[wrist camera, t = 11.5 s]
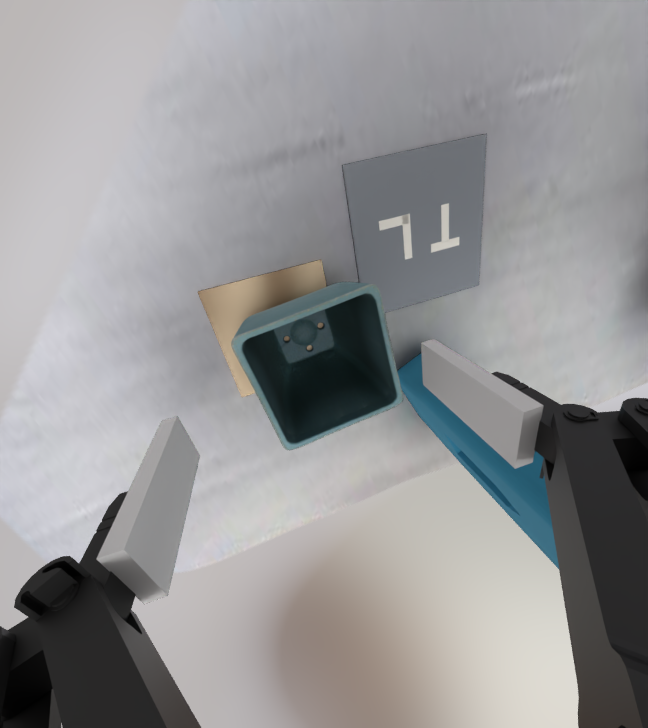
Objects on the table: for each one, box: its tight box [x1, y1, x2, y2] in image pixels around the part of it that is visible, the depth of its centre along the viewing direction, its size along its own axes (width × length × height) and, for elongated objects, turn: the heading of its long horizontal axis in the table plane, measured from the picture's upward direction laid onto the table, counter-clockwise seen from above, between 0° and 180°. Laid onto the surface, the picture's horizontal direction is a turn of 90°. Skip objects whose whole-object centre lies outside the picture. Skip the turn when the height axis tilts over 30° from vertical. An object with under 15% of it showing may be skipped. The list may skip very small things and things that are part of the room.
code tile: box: [342, 134, 487, 313], centre depth 24 cm, size 12×12×1 cm
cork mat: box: [198, 260, 327, 397], centre depth 25 cm, size 10×10×1 cm
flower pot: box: [231, 282, 403, 450], centre depth 21 cm, size 9×9×9 cm
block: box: [397, 353, 559, 569], centre depth 23 cm, size 12×5×20 cm, turn 35°
